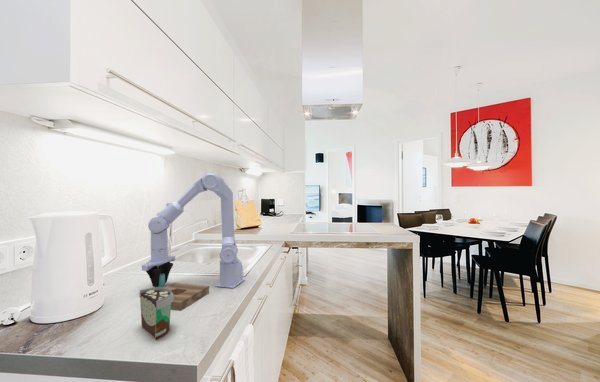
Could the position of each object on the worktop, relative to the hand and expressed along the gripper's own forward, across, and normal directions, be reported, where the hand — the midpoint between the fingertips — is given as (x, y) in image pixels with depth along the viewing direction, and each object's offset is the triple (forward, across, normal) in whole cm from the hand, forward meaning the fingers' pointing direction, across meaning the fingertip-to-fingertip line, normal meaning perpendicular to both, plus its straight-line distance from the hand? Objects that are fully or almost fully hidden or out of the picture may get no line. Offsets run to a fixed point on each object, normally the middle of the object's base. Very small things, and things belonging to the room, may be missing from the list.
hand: (159, 284), depth 104 cm
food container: (+2, +25, +23) cm, 34 cm away
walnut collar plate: (+2, +6, +13) cm, 15 cm away
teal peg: (+2, 0, 0) cm, 2 cm away
